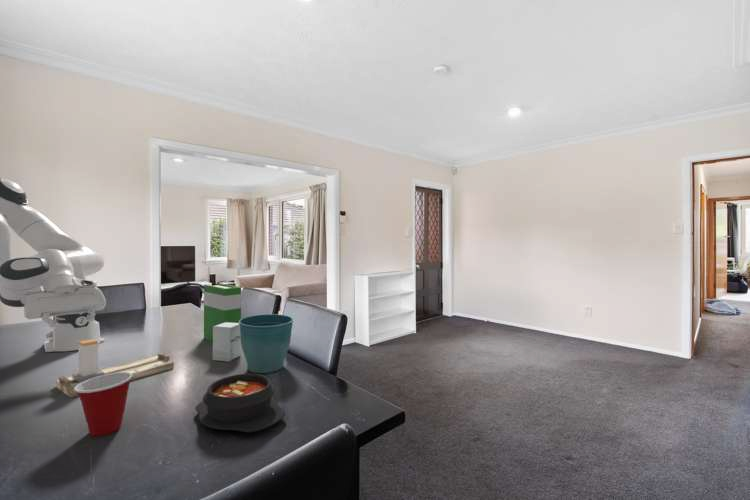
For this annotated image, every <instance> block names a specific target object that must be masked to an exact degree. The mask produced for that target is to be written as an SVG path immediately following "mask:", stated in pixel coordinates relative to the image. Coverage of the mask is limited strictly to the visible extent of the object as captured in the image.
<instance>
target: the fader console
mask: <svg viewBox="0 0 750 500" xmlns="http://www.w3.org/2000/svg"><path fill="white" fill-rule="evenodd" d="M174 365H175V362H174V361H172V360H170V355H168V354H166V353H162V352H159V353H157V355H152V356H149V357H145V358H141V359H136V360H133V361H128V362H124V363H122V364H115V365H113V366H109V367H105V368H100V369H99V370H101V371H102V372H104V375H106V374H111V373H118V372H129V373H132V378H131V380H130V381H134V380H136V379H140V378H143V377H148V376H151V375H154V374H157V373H161V372H165V371H168V370H171V369H174V368H175V366H174ZM78 384H79V382H77V381H76V380H74V379H73V378H72V375H71V376H68V377H65V376H59V377H58V379H56V380H55V387H56V389H57V390H59V391H61V392H62V393H63V394H65V395H66V396H67V397H68V398H73V397H79V395H78V394H77V392H75V390H74V387H75V386H77V385H78Z"/></svg>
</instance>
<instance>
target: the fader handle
mask: <svg viewBox="0 0 750 500" xmlns="http://www.w3.org/2000/svg"><path fill="white" fill-rule="evenodd" d="M78 343H79V350H78V372H75V373H72V375H71V376H72V378H73V379H74V380H76V381H77V382H79V383H81V382H84V381H86V380H88V379H91V378H94V377H98V376H102V375H104V372H102V371H101V370H100V369H99V360H98V359H99V353H98V352H99V348H98V347H99V344H98V341H97V340H95V339H89V340H84V341H79V342H78Z"/></svg>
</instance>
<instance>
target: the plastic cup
mask: <svg viewBox="0 0 750 500" xmlns="http://www.w3.org/2000/svg"><path fill="white" fill-rule="evenodd" d="M131 378H132V373H129V372H118V373H111V374H106V375H102V376H98V377H94V378H91V379H88V380H86V381H84V382H81V383H79V384H78V385H77V386H75V387H74V390H75V392H77V394H78V397H79V399H80V401H81V405H82V409H83V413H84V417H85V422H86V423H87V428H88V433H89V434H90V436H91V437H97V438H98V437H104V436H108V435H111V434H114V433H115V432H117V431H119V430H120V429H121V427H122V423H123V419H124V413H125V411H126V403H127V398H128V392H129V389H130V388H129V387H130V383H131V381H132V380H131Z"/></svg>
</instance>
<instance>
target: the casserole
mask: <svg viewBox="0 0 750 500" xmlns="http://www.w3.org/2000/svg"><path fill="white" fill-rule="evenodd" d="M275 391H276V389H275V385H273V383H272V381H271V378H269V377H267V376H265V375H264V374H263V375H262V374H259V373H242V374H241V373H240V374H239V373H238V374H234V375H230V376H226V377H223V378H220V379H217V380H216V381H213V382H212V383H211V384H210V385H209V386H208V388H207V390H206V392H205V393H204V394H203V397H202V401H200V402H199V403H197V404H196V406H195V411H196V412H197V413H198V419H199V422H200V423H201V424H202V425H204V426H205V427H208V428H210V429H214V430H215V429H216V430H219V431H220V430H223V431H225V430H226V431H237V432H244V433H253V432H258V431H261V430H265V429H267V428H269V427H271V426H273V425H275V424H277V423H278V422H280V421H281V420H282V419H283V418H284V417H285V415H286V411H285V410H284V409H283V408H282V407H281V406H280V405H279V403H278V402H277V399H275V398H274V397H273V395H274V393H275Z"/></svg>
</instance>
